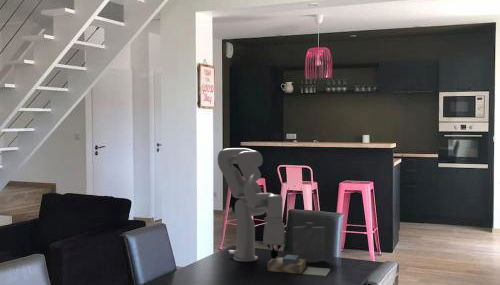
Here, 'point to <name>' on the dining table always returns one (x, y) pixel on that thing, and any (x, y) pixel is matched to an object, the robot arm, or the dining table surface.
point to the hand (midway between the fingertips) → (274, 258)
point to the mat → (316, 271)
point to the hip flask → (309, 242)
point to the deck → (286, 266)
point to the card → (291, 259)
